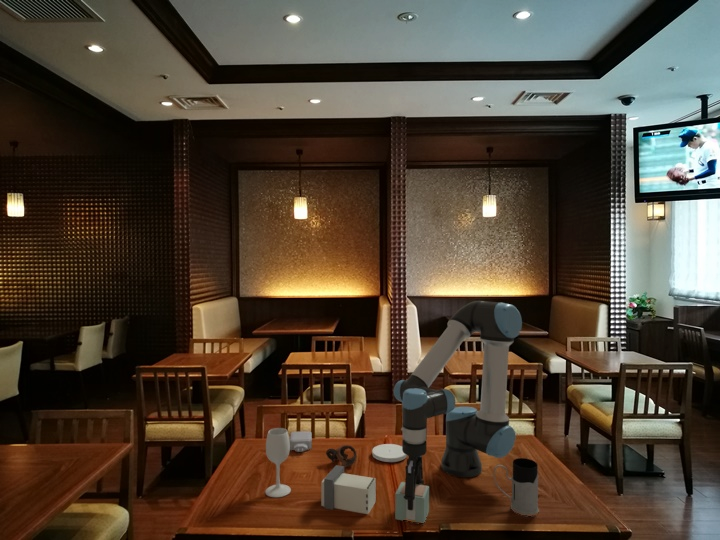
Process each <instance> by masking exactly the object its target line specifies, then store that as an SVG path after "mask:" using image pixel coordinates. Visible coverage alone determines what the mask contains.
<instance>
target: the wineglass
mask: <svg viewBox="0 0 720 540" xmlns="http://www.w3.org/2000/svg"><path fill="white" fill-rule="evenodd" d="M290 451H291V450H290V434H289V432H288V430H287V429H286V428H283V427H274V428H271V429H269V430H268V432H267V435H266V441H265V452H266V453H265V454H266V457H267V459H268V460H269V461H270V462H271V463H273V464H274V465H275V467H276V468H275V469H276V478H275V479H276V481H275V484H273V485H270V486H269V487H267V488H266V489H265V491H264V493H265V495H266V496H267V497H270V498H282V497H285V496H287V495H289V494H290V493H291V491H292V489H291V487H290V486H288V485H286V484H282V483H281V481H280V480H281V479H280V466H281V464H282V463H283V462H285V461H286V460H287V459H288V457H289V454H290Z"/></svg>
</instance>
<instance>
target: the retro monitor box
mask: <svg viewBox="0 0 720 540" xmlns="http://www.w3.org/2000/svg"><path fill="white" fill-rule="evenodd" d="M404 496H405V481H401V482H400V484H399V486H398V487H397V489H396V491H395V493H394V502H395V505H394V506H395V508H394V509H395V510H394V511H395V512H394V514H395V515H394V518H395V520H397V521H403V520H405V519H406V500H405V498H404ZM415 498H416V519H415V520H412V521H416V522H421V523H424V522H425V523H426V521H425V520H427V518H426V517H428V514H429V512H430V486H429V485H424V484H420V485H418V484H416V488H415ZM408 520H411V519H408Z"/></svg>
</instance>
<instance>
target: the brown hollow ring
mask: <svg viewBox="0 0 720 540" xmlns="http://www.w3.org/2000/svg"><path fill="white" fill-rule="evenodd" d="M348 449H349V450H350V451H351V452H352V453H353V457H350V458H348V457H349V454H348V453H346V452H345V451H346V450H348ZM325 452H326V453H325V455H326V456H327V458H328V459H329V460H331V463H334V462H336V461H337V460H339V461H340V463H341V465H340V466H344V470H345V469H346V468H348V467H350V466H351V465H354V464H355V462H356V461H357V450H356V449H355V447H353V446H351V445H349V444H344V445H343V444H342V445H340V446H339V447H338V448H337V449H334V448H328V449H326V451H325Z"/></svg>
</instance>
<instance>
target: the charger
mask: <svg viewBox="0 0 720 540" xmlns="http://www.w3.org/2000/svg"><path fill="white" fill-rule="evenodd" d="M312 437H313V436H312V432H311V431H309V430H308V431H292V432H290V434H289V441H290V451H292V450H295V452H297V453H299V452H300V453H302V452H305V451H310V450H312V448H313V447H312V445H313V444H312V442H313V441H312ZM309 449H310V450H309Z"/></svg>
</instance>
